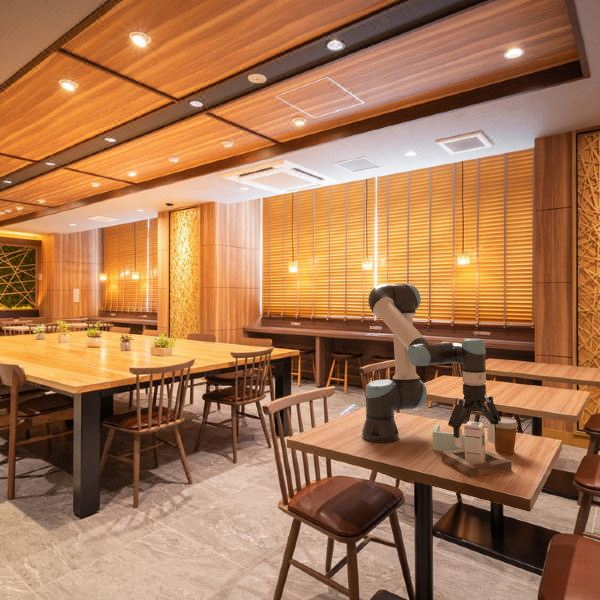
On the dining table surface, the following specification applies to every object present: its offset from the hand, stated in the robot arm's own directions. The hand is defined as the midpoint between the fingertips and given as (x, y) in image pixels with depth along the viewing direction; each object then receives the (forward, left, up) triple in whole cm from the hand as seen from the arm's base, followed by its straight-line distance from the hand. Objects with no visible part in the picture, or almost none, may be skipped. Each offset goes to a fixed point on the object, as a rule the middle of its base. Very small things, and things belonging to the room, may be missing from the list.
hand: (475, 444), depth 152 cm
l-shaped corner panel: (-19, +4, -8) cm, 21 cm away
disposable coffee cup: (-7, +19, -7) cm, 22 cm away
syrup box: (0, 0, -7) cm, 7 cm away
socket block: (0, 0, -7) cm, 7 cm away
